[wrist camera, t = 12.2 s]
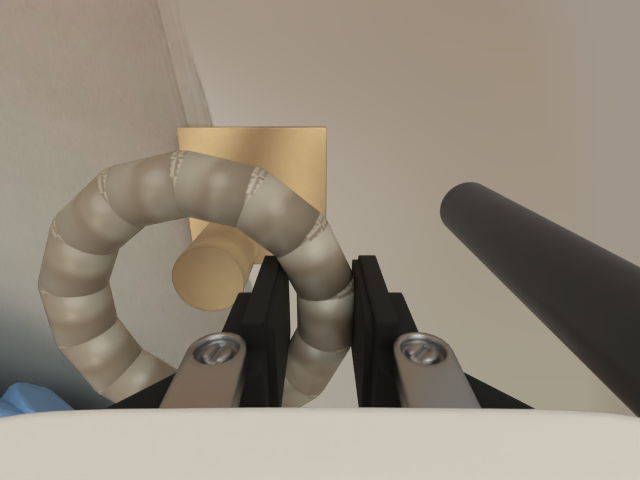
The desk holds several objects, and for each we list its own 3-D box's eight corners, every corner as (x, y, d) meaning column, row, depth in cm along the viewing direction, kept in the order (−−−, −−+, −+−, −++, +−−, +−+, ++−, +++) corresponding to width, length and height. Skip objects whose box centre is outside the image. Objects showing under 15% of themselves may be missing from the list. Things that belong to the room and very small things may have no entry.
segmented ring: (358, 147, 11) (365, 157, 9) (347, 407, 14) (350, 449, 12) (32, 145, 11) (-23, 153, 9) (101, 402, 14) (71, 443, 12)
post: (326, 126, 23) (334, 153, 11) (325, 257, 26) (331, 379, 15) (183, 126, 23) (49, 154, 11) (200, 257, 26) (109, 380, 15)
